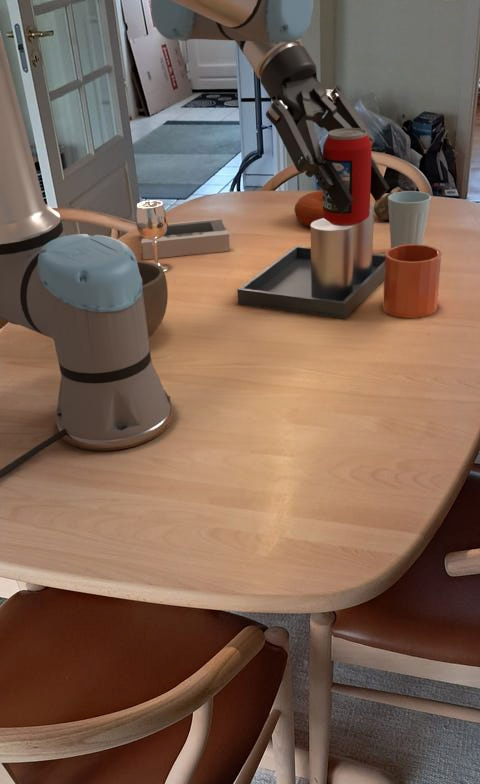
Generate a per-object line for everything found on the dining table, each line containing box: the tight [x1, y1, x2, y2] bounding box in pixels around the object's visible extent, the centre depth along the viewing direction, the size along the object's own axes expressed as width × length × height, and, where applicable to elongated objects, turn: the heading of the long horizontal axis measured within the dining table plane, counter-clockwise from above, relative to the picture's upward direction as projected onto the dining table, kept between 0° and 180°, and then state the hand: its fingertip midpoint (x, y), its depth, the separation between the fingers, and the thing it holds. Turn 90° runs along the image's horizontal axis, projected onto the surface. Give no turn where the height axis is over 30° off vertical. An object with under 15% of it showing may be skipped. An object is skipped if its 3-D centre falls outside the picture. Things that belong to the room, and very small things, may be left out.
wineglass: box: [135, 200, 170, 272], centre depth 155 cm, size 6×6×12 cm
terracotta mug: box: [382, 244, 442, 319], centre depth 134 cm, size 12×9×9 cm
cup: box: [388, 190, 432, 248], centre depth 154 cm, size 8×8×10 cm
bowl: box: [137, 260, 169, 338], centre depth 131 cm, size 17×18×10 cm
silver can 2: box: [353, 203, 375, 284], centre depth 144 cm, size 7×7×12 cm
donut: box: [293, 189, 324, 227], centre depth 175 cm, size 15×15×5 cm
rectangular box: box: [140, 218, 231, 261], centre depth 170 cm, size 17×5×16 cm
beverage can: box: [322, 128, 373, 226], centre depth 117 cm, size 7×7×12 cm
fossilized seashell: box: [373, 186, 405, 221], centre depth 174 cm, size 8×7×10 cm
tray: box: [236, 245, 385, 320], centre depth 145 cm, size 24×20×3 cm
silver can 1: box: [310, 218, 354, 301], centre depth 137 cm, size 7×7×12 cm
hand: (365, 200), depth 117 cm, fingers closed on beverage can, 7 cm apart
